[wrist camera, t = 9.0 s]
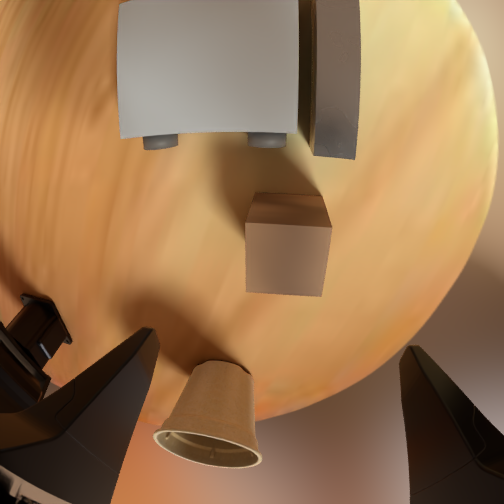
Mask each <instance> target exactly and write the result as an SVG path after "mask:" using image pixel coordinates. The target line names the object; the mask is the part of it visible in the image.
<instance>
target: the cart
mask: <svg viewBox="0 0 504 504" xmlns="http://www.w3.org/2000/svg"><path fill="white" fill-rule="evenodd" d="M298 80H299V10H298V0H130V1H127V2H124V3H121V4H119V14H118V32H117V92H118V112H119V126H120V138H121V139H125V138H134V137H143V144H144V150H157V149H165V148H170V147H174V146H177V145H178V134H180V133H200V132H248V146H252V147H260V148H280V147H285V146H286V133H294V134H297V121H298Z"/></svg>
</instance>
